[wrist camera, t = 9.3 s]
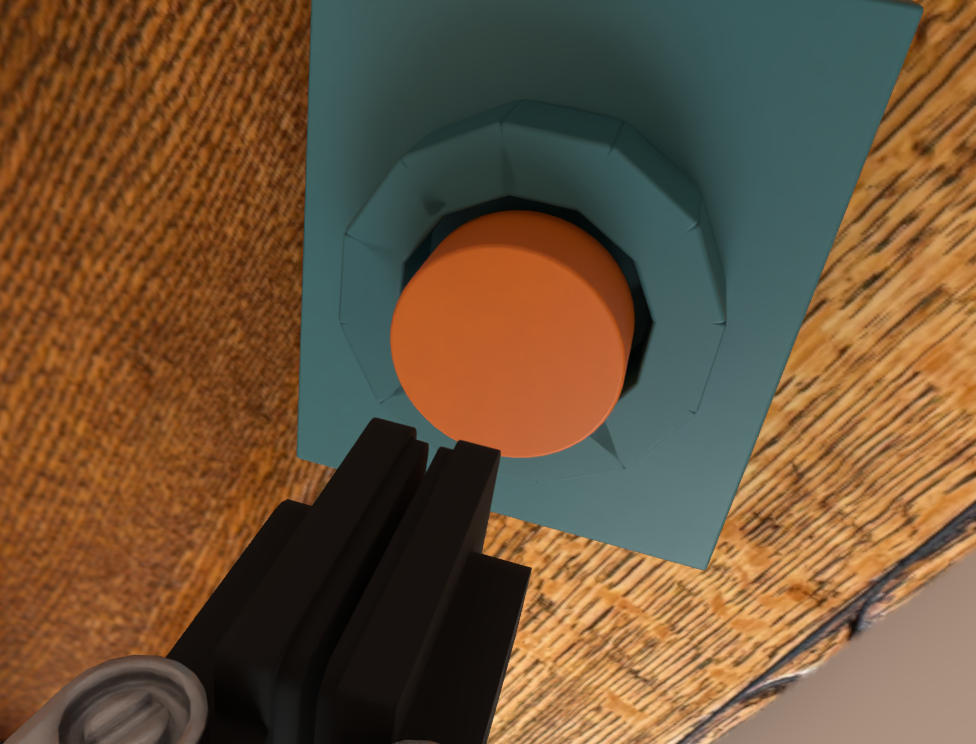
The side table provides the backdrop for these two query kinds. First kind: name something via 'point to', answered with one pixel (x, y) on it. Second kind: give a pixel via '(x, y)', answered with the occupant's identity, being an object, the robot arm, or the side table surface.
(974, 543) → the side table surface
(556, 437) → the button
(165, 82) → the side table surface
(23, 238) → the side table surface
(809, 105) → the button block
